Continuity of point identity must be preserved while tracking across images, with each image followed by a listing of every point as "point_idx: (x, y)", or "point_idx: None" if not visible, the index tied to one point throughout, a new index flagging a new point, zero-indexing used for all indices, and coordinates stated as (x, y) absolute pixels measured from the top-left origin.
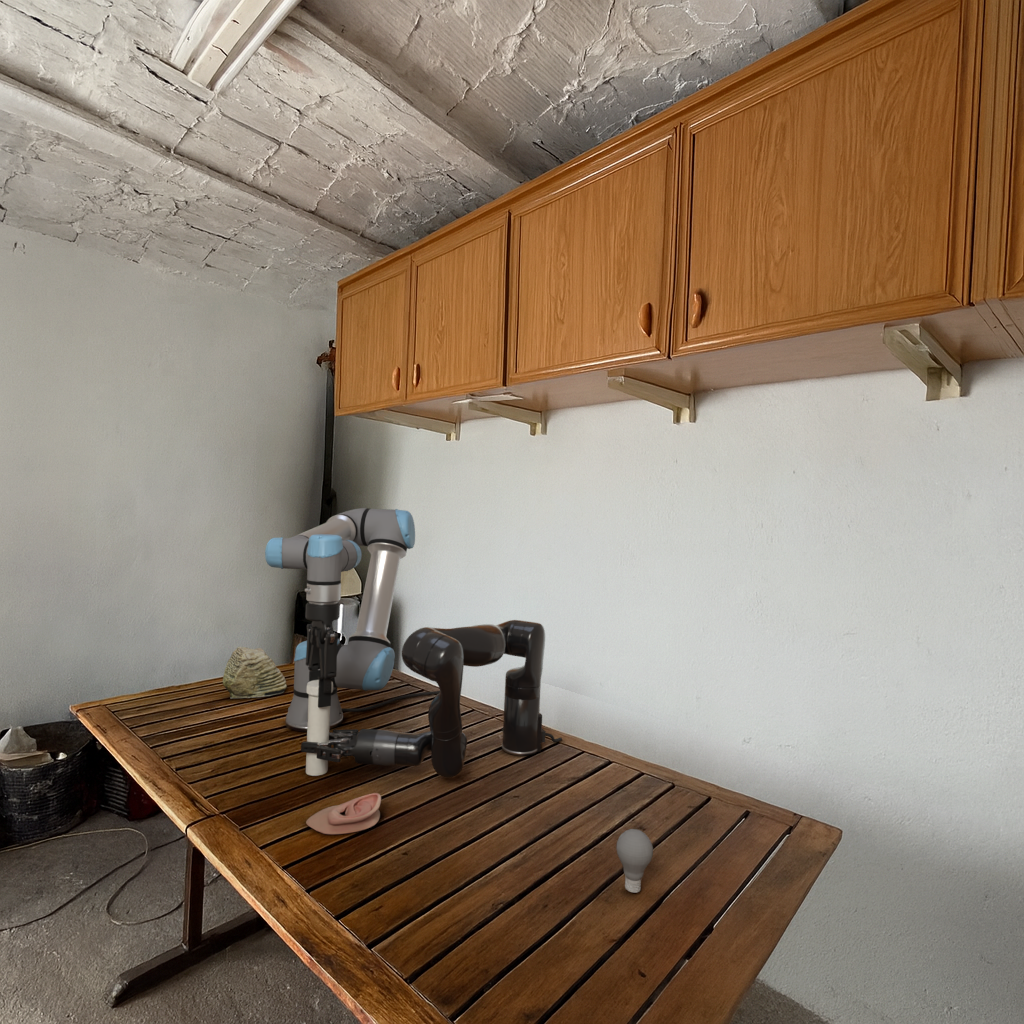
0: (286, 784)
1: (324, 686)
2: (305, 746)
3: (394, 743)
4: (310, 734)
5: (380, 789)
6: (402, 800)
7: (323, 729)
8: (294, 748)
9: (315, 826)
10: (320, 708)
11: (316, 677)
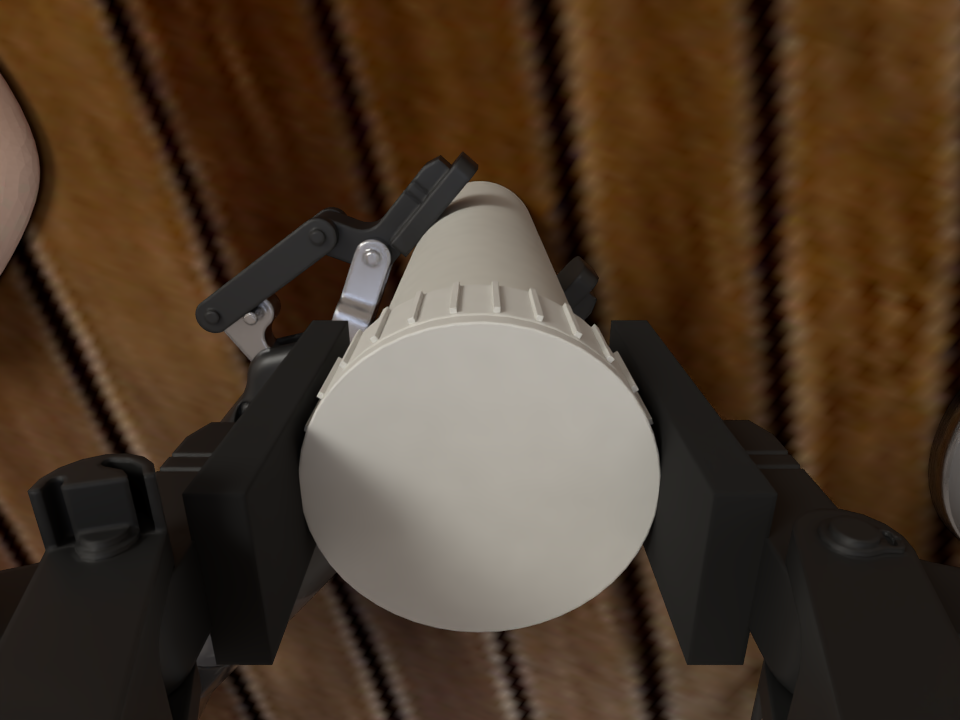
0: (405, 43)
1: (160, 473)
2: (420, 171)
3: None
4: (445, 225)
5: (164, 406)
6: (33, 437)
7: None
8: (827, 235)
9: None
10: None
11: (667, 523)
